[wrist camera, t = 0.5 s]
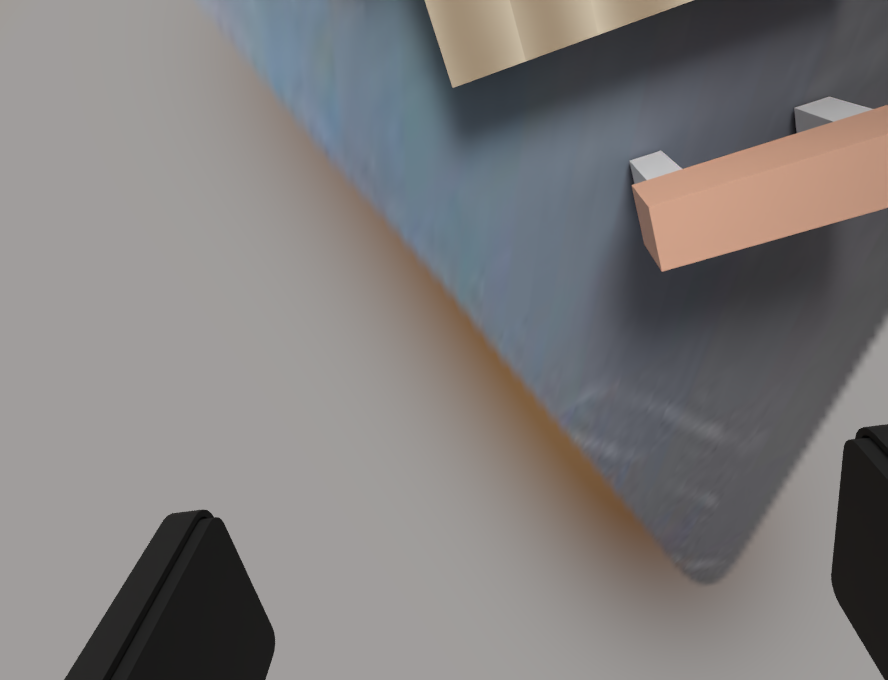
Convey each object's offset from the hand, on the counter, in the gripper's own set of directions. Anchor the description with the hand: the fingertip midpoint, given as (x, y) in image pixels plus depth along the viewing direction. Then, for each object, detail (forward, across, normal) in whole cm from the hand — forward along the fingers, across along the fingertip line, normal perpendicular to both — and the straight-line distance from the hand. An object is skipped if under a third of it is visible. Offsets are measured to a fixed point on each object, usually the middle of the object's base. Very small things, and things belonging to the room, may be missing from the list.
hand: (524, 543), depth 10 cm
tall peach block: (+26, -12, +2) cm, 29 cm away
